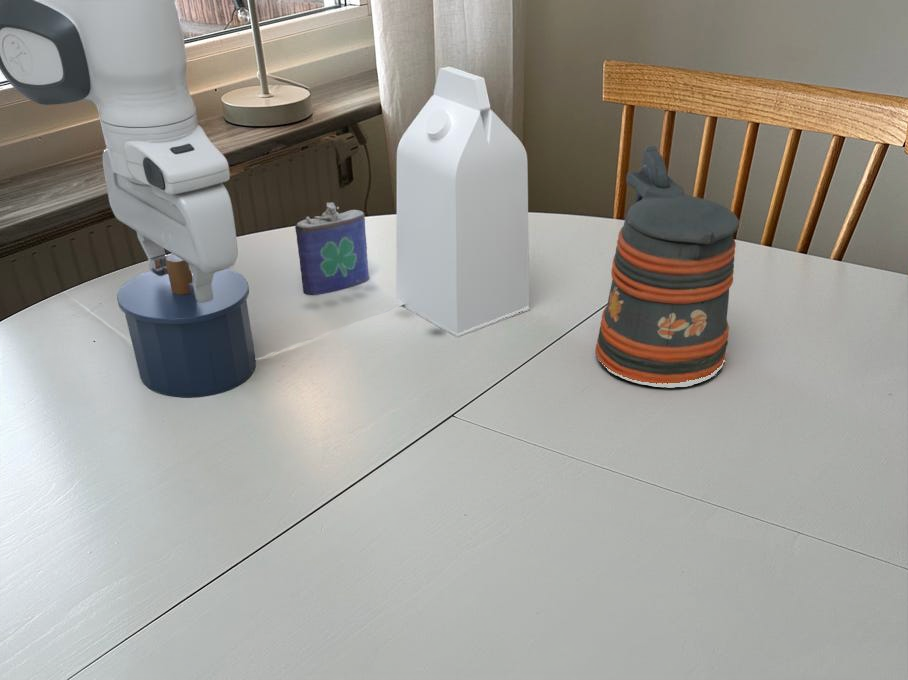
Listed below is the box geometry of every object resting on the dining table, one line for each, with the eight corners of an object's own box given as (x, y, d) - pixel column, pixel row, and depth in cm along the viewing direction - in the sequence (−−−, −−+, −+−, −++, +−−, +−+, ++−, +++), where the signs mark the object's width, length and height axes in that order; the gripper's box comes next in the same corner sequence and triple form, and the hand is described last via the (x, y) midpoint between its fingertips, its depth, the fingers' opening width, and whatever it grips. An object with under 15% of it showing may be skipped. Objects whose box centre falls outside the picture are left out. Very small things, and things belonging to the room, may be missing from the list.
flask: (363, 277, 132) (357, 192, 124) (374, 285, 130) (369, 199, 122) (299, 294, 128) (289, 207, 120) (310, 302, 126) (300, 215, 119)
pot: (120, 366, 114) (101, 293, 108) (218, 332, 120) (205, 262, 114) (176, 409, 107) (159, 334, 101) (277, 372, 113) (267, 298, 107)
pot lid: (96, 297, 108) (85, 254, 105) (208, 264, 115) (201, 222, 112) (158, 342, 101) (148, 297, 98) (274, 304, 107) (268, 260, 104)
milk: (529, 309, 125) (539, 76, 107) (457, 337, 119) (455, 95, 102) (467, 278, 132) (467, 53, 114) (396, 302, 126) (384, 70, 108)
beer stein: (561, 323, 122) (573, 147, 109) (670, 308, 126) (695, 135, 112) (627, 399, 109) (650, 209, 95) (747, 379, 113) (786, 193, 99)
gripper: (75, 127, 101) (108, 263, 111) (177, 181, 90) (204, 327, 100) (133, 115, 104) (160, 248, 114) (238, 166, 93) (259, 309, 103)
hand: (182, 286), depth 107 cm, fingers open, 7 cm apart
